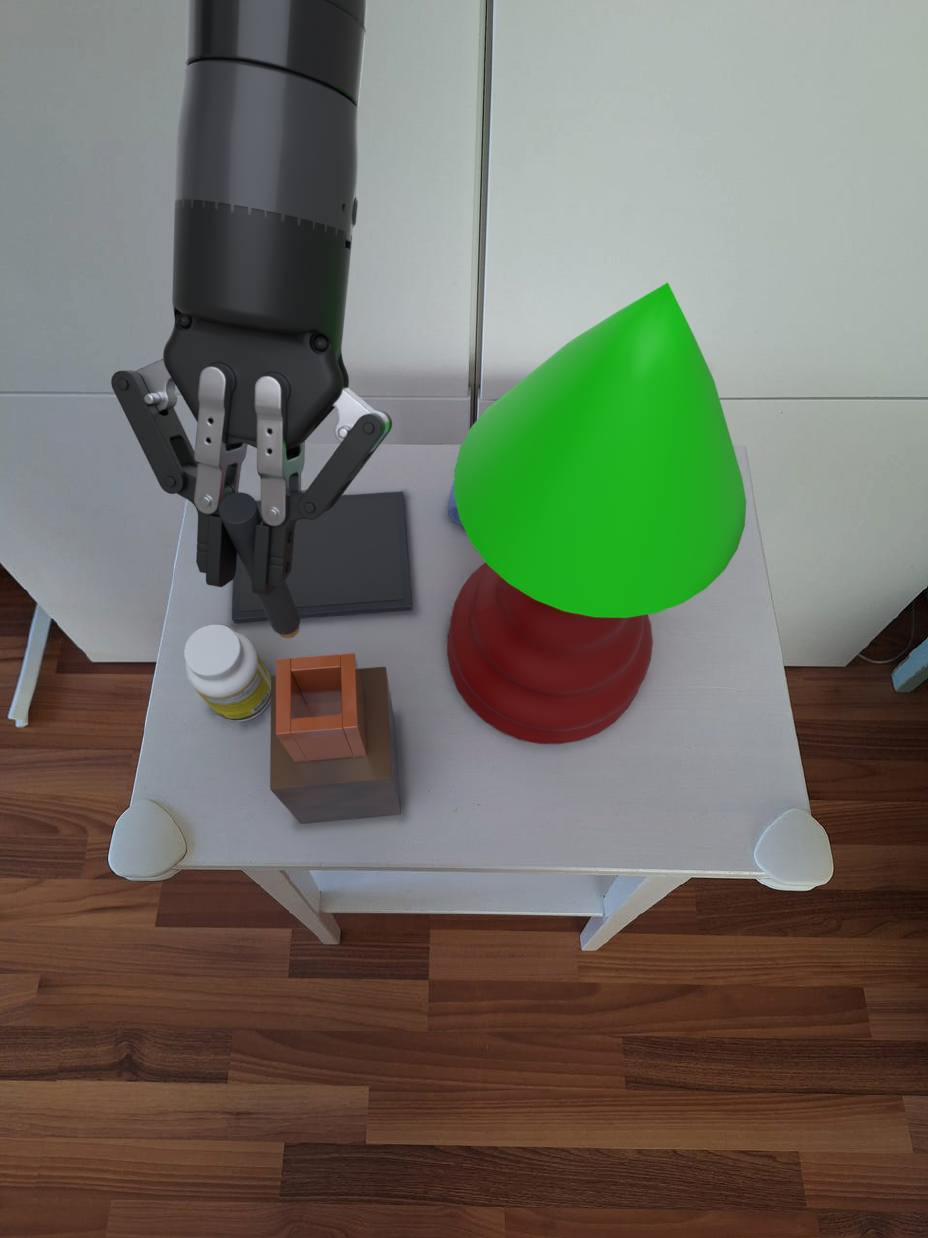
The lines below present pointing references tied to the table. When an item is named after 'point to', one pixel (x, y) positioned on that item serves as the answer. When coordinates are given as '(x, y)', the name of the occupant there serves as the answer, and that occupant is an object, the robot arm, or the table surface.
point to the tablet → (342, 562)
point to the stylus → (241, 525)
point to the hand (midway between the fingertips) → (243, 585)
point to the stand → (343, 766)
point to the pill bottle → (227, 673)
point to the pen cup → (320, 707)
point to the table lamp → (590, 522)
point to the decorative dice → (453, 507)
